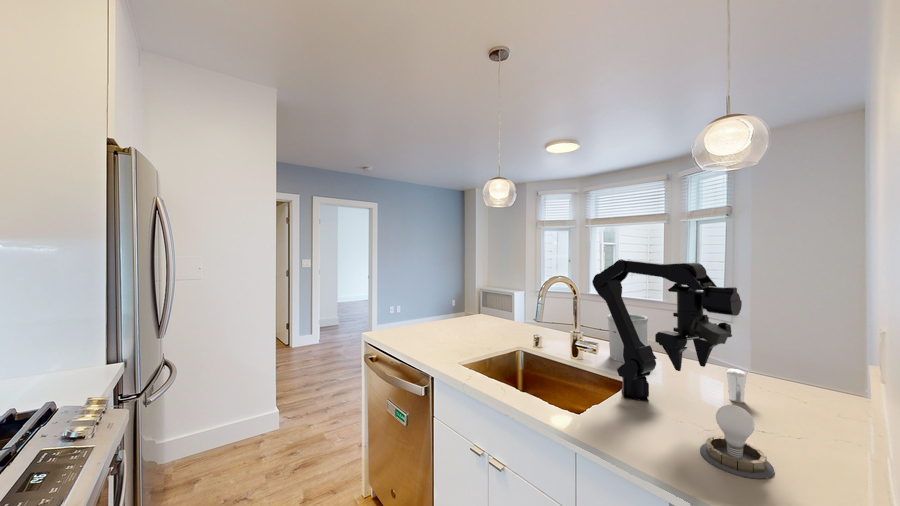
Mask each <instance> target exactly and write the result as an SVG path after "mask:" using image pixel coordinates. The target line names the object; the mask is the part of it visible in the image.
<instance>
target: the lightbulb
mask: <svg viewBox="0 0 900 506" xmlns="http://www.w3.org/2000/svg"><path fill="white" fill-rule="evenodd" d="M715 420H716V424H717V425H718V427H719V429H720V430H721V432H722V434H723V435H724V436H723V437H725V440H726V442H727V454H728V455H730V456H731V457H734V458H736V459H741V458H743V446H744V445H745V443H746V442H747V439H748V438H749V437H750V436H752V434H753V433H754V431H755V427H756V426H755V425H756V424H755V421H754V420H755V419H754V418H753V417H752V415H751V414H750V413H749V412H748V410H746V409H744V408H743V407H741V406H739V405H736V404H725V405H721V406H720V407H719V408H718V409H717V411H716V413H715Z"/></svg>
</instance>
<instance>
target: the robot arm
mask: <svg viewBox="0 0 900 506" xmlns="http://www.w3.org/2000/svg"><path fill="white" fill-rule="evenodd" d="M629 274H636V275H637V274H638V275H643V276H644V275H645V276H651V277H658V278H662V279H665V280H668V281H669V282H672V283H673V285H672V286H671V287H670V288H668V290H667V291H668V292H671V293H676V311H675V312H673V313H672V315H673V317H675V318H677V319H676V321H677V322H676V323H677V324H676V327H673V331H671V330H663V331H662V330H661V331H658V332H656V333H655V335H654V337H655V338H654V339H655V340H654V341H655V343H658V345H660V346H661V347H662V349H663V350H664V351H665V353H666V355H667V356H668V359H669V360H670V362H671V363H672V366H673V368H674V369H675V371H677V372H681V370H682V363H683V352H685V351H686V350H687V349H688V346H686V345H687V344H688V341H693V345H694V350H695V353H696V356H697V357H696V358H697V361H698V364H699V366H700V367H703V368H705V367H706V365H707V363H708V360H709V357H710V355H711V352H712V350H713V349H714V348H715V347H717V346H718V345H725V344H726V342H727V340H728V338H732V337H733V334H732V326H731V324H730V323H728V322H725V321H724V322H720V323H718V324H717V323H714V322H713V323H712V322H711V321H710V320H709V317H710V316H708V314H704V310H705V311H706V312H708V313H709V314H710V313H711V314H719V315H727V316H735V317H737V316H739V315H740V313H741V310H742V304H743V303H742V300H741V296H740V294H739V293H738V288H737V287H735V286H729V287H726V286H725V287H722V286H717V285H716V283H715V282H714V281H713V280H712V278H711V277H710V276H709V275H708V273H707V270H706V268H705V267H704V266H703V264H701V263H699V262H684V263H683V262H681V263H680V262H679V263H660V262H651V261H642V260H633V259H630V258H629V259H627V258H626V259H625V258H623V259H621V258H620V259H618V260H616V261H615V262H614V263H613V264H612V265H610V266H608V267H607V268H604V270H602V271H600V273H596V274H594V276H593V279H592V286H593V288H594V289H595V291H596V292H597V293H596V294H597V295H598V296H599V297H601V299H603V300H604V301H605V302H606V305H607V308H608V310H609V313H610V314H611V315H612V318H613V320H614V323H615V325H616V328H617V330H618V332H619V335H620V337H621V340H622V342H623V345H624V348H623V358H624V362H625V363H624V362H623V364H622V365H620V366H619V367H618V368H616V372H617V375H618V376H619V377H621V381H622V382H621V383H622V384H621V385H622V387H621V394H622V397H623V399H628V400H636V401H643V402H648V401H649V396H650V384H649V382H648V379H647V376H650V375H651V372H653V370H655V368H656V366H657V361H656V359H658V358H657V356H655V354H654V352H653V348H652V346H651V345H650V344H649V345H647V346H645V345H644V344H643V343H642V342H641V341H640V339H639V337H638V335H637V332H636V330H635V327H634V325H633V323H632V320H631V318H630V316H629V314H630V313H629V312H628V309H627V306H626V304H625V302H624V299H623V297H622V295H623V285H622V282H623V281H625V279H626V278H627V277H628V276H629Z"/></svg>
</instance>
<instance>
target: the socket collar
mask: <svg viewBox="0 0 900 506" xmlns="http://www.w3.org/2000/svg"><path fill="white" fill-rule="evenodd" d="M705 444H706V452H707V453H708V455H709V457H710V458H712V459H713V460H715V461H716V462H718V463H720V464H722V465H724V466H726V467H729V468H731V469H734V470H738V471H742V472H747V473H761V472H765V470H766V467H767V461H768V460H767V459H768V458H767V456H766V454H765V453H764V452H763V451H762V450H761V449H760V448H757V447H755V446H753V445H751V444H750V443H748V442H745V445H744V446H743V453H746V454H748V455H749V456H751V457H753V458H755V459H756V460H753V461H748V460H742V459H736V458H734V457H731V456H728V455H725V454H723V453H721V452H720V451H718V450H716V449H715V448H720V447H723V448H727V442H726V440H725V436H710V437H708V438H707V439H706V440H705Z"/></svg>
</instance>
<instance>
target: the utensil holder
mask: <svg viewBox="0 0 900 506" xmlns="http://www.w3.org/2000/svg"><path fill="white" fill-rule="evenodd" d="M629 316H630V318H631V320H632V323H633V325H634V327H635V330H636V332H637V335H638V337H639V339H640V341H641V342H642V343H643V344H644V345H645V346H648V322H649V317H648V316H646V315H644V314H643V315H642V314H636V313H629ZM607 320H608V321H607V322H608V343H609V346H608V347H609V357H610V359H612V360H614V361H616V362H619V363H623V364H624V363H625V362H624V358H623V348H624V345H623V342H622V340H621V337H620V335H619V332H618V330H617V328H616V325H615V323H614V320H613V318H612V315H611V313H610V314H607ZM611 331H616V333H614V332H611Z"/></svg>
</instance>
